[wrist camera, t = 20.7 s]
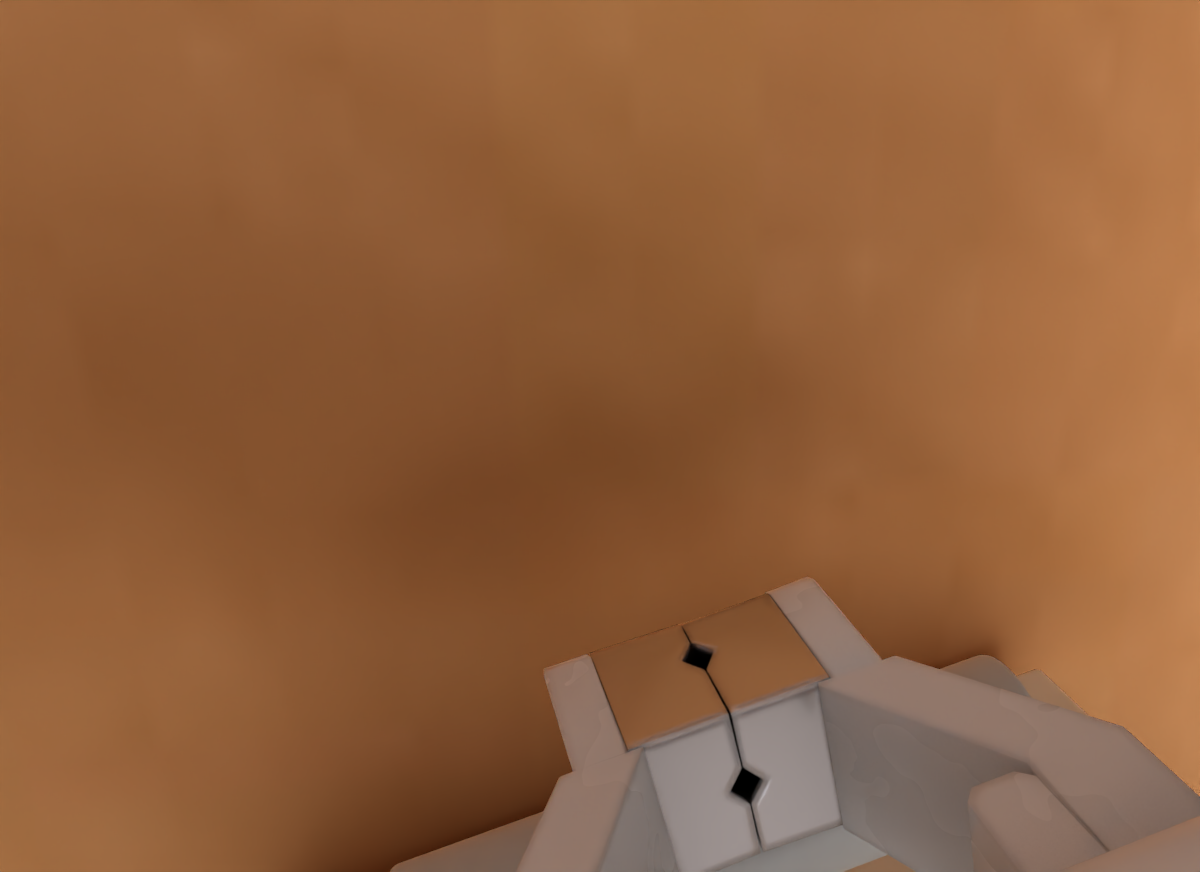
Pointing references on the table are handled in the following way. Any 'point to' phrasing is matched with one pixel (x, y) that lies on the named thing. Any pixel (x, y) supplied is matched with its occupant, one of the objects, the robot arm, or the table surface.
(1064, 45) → the table surface
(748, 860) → the drawer
